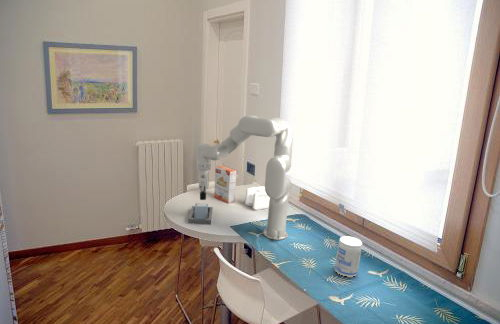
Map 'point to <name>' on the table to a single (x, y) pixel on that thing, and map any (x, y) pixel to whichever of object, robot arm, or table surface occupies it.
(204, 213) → the module
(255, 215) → the table surface
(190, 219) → the grey rectangular frame
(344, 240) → the supplement tub
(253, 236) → the table surface
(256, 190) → the cable organizer
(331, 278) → the table surface
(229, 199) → the cracker box
